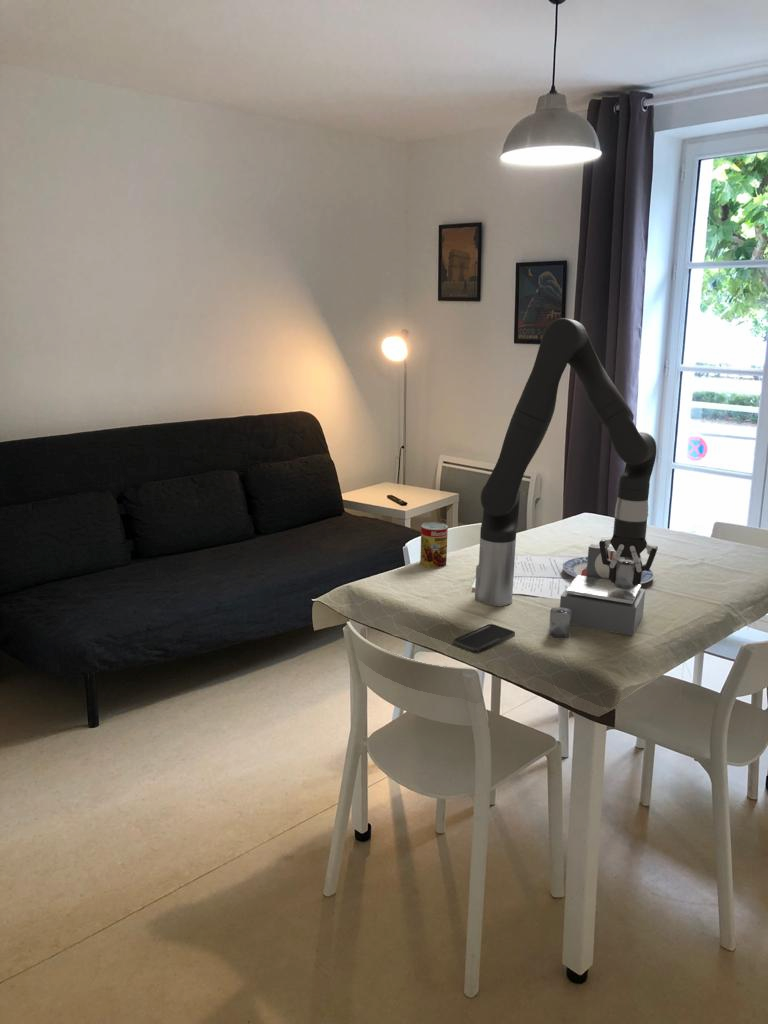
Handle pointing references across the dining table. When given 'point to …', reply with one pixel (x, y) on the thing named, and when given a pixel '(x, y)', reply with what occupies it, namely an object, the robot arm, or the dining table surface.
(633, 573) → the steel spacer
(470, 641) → the phone
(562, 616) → the cylinder
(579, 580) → the scale pan
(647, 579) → the ceramic plate
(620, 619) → the scale
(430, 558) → the canned food
